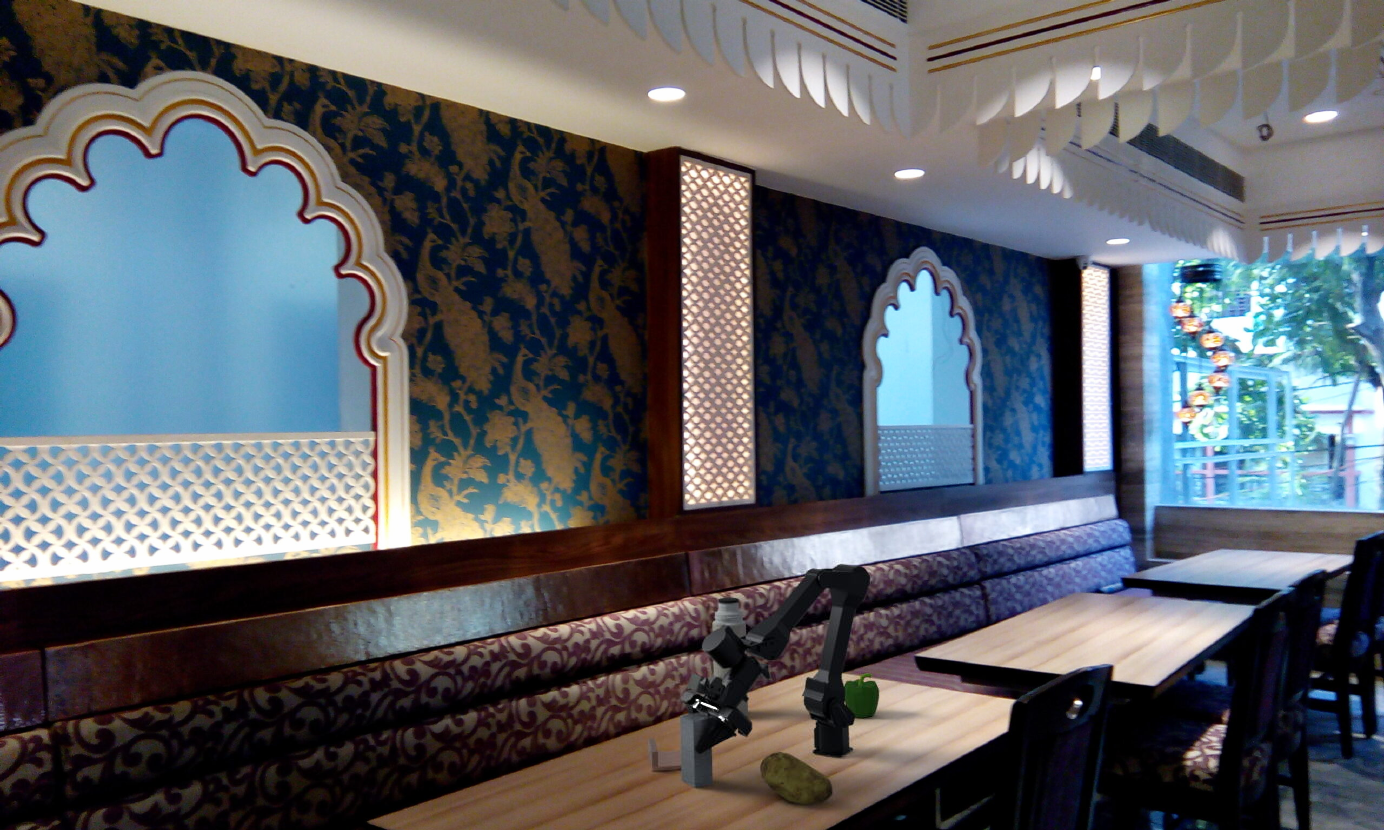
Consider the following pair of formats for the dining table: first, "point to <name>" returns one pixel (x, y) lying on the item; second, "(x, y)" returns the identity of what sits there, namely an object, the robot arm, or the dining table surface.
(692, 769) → the block
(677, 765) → the plate
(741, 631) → the thermos bottle
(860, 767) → the dining table surface
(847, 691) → the bell pepper
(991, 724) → the dining table surface
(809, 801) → the potato
